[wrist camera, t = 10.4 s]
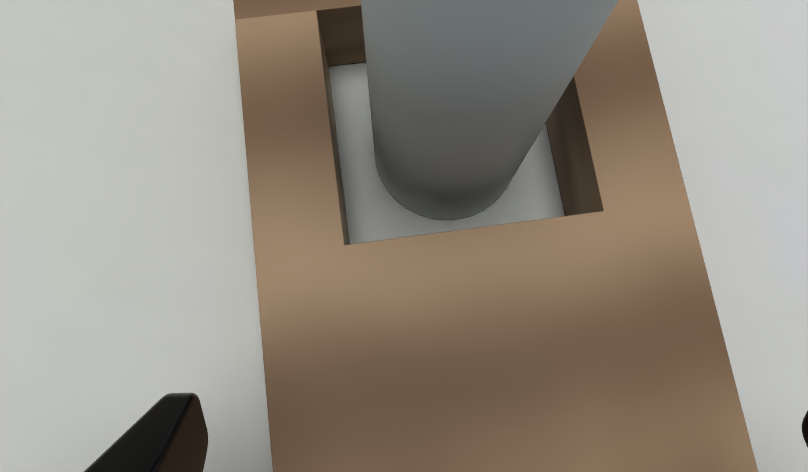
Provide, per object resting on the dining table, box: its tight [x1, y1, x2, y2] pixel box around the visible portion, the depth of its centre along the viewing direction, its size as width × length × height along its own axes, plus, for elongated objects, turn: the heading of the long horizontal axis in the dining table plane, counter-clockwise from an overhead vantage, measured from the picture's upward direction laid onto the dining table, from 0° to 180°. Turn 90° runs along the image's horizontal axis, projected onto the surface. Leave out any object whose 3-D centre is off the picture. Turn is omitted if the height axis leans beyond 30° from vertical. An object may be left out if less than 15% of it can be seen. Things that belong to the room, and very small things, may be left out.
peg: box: [361, 0, 619, 220], centre depth 12 cm, size 4×4×14 cm
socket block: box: [233, 0, 758, 472], centre depth 16 cm, size 16×11×3 cm
